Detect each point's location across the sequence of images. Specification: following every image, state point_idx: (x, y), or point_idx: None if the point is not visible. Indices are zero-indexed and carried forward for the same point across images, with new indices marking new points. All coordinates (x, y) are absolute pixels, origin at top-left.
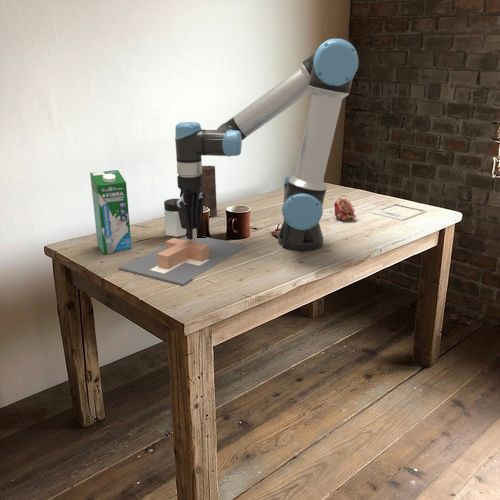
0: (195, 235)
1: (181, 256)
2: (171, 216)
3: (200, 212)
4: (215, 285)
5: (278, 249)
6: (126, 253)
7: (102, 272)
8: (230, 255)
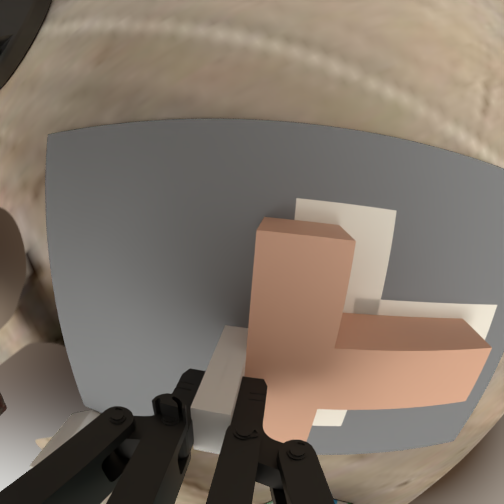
0: (221, 376)
1: (391, 330)
2: (107, 497)
3: (69, 477)
4: (496, 69)
5: (48, 37)
6: (328, 486)
7: (468, 444)
8: (182, 127)
